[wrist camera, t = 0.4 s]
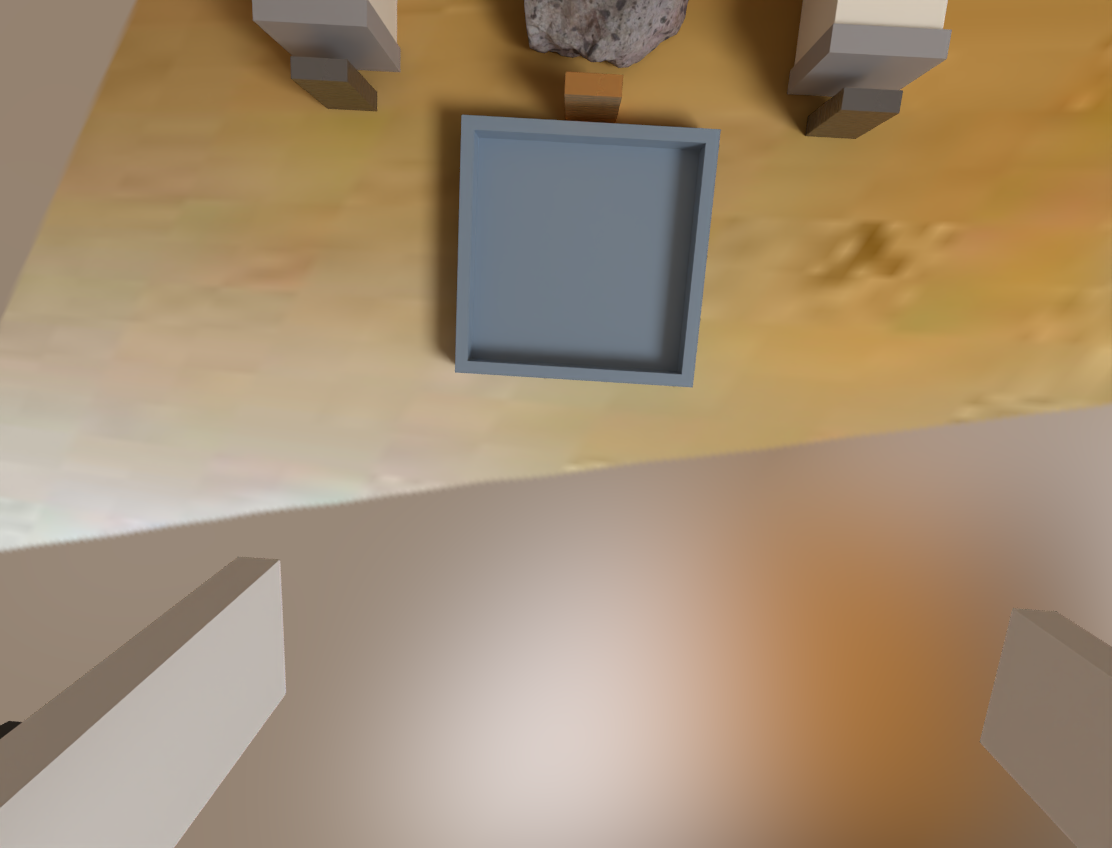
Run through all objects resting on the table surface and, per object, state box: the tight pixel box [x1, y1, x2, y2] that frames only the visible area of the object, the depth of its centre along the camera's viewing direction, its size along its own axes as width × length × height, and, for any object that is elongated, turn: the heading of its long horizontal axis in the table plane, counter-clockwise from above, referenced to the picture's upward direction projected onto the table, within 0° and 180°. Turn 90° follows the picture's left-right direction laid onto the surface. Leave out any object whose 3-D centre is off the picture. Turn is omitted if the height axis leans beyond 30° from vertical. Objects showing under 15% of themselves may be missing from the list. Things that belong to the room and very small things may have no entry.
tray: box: [455, 115, 721, 387], centre depth 33 cm, size 14×14×2 cm
